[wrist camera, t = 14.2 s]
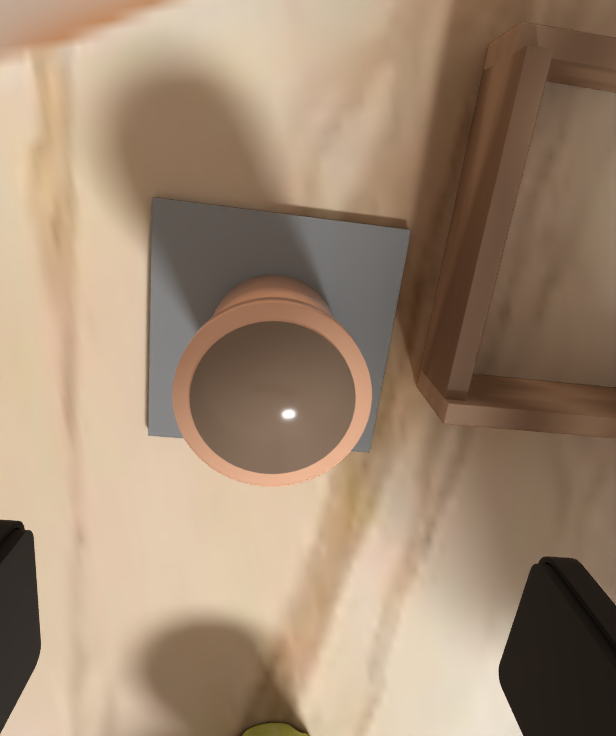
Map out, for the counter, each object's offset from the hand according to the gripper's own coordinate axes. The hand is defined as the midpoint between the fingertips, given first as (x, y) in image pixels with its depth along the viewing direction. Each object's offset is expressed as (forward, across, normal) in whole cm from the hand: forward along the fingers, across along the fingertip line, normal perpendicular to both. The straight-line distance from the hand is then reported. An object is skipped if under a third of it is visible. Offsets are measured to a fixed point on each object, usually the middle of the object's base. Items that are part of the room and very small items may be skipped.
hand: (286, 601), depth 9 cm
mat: (+17, +1, 0) cm, 17 cm away
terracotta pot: (+16, 0, 0) cm, 16 cm away
